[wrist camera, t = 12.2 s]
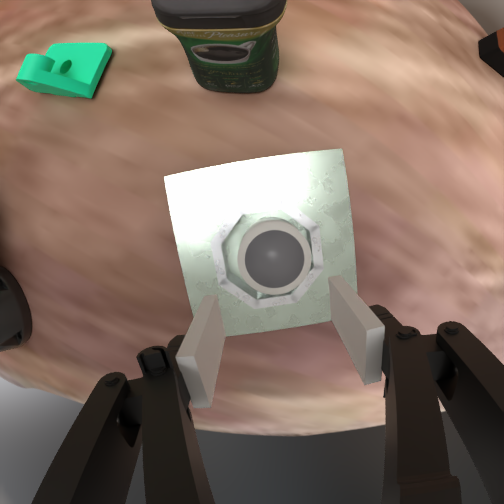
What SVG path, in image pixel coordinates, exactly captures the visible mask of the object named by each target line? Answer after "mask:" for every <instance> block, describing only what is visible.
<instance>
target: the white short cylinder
mask: <svg viewBox="0 0 504 504" xmlns="http://www.w3.org/2000/svg"><path fill="white" fill-rule="evenodd" d="M311 259H312V258H311V249H310V246H309V244H308V242H307V240H306V238H305V237H304V236H303V235H302V234H301V232H300V231H299V230H298V229H297V228H296V227H295V226H294V225H293V224H292V223H290V222H289V221H287V220H285V219H282V218H278V217H267V218H263V219H260V220H258V221H256V222H254V223H253V224H252V225H251V226H250V227H249V228H248V229H247V230H246V232H245V233H244V235H243V237H242V240H241V244H240V247H239V250H238V256H237V262H238V268H239V271H240V274H241V276H242V277H243V279H244V280H245V282H246V283H247V284H248V285H249V286H251V287H252V288H253V289H255V290H257V291H259V292H261V293H265V294H270V295H277V294H283V293H287V292H289V291H291V290H293V289H295V288H296V287H298V286H299V285H300V284H301V283H302V282H303V281H304V279H305V278H306V276H307V274H308V272H309V270H310V266H311Z"/></svg>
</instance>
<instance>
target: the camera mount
mask: <svg viewBox="0 0 504 504" xmlns="http://www.w3.org/2000/svg"><path fill="white" fill-rule="evenodd" d="M111 54H112V49H111V48H110V47H109V46H108V45H106V44H105V43H58V44H53V45H52V46H50V48H49V49H48V51H47V53H46V55H45V56H44V55H40V54H27V55H26V58H25V60H24V62H23V64H22V66H21V69H20V71H19V73H18V76H17V78H16V81H18V82H19V83H20V84H22V85H23V86H25V87H26V88H28V89H29V90H31V91H34V92H40V93H51V94H54V95H61V96H69V97H76V96H77V97H84V98H92V96H93V93H94V91H95V89H96V86H97V84H98V81H99V79H100V77H101V75H102V72H103V70H104V68H105V66H106V64H107V62H108V60H109V58H110V56H111Z"/></svg>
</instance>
